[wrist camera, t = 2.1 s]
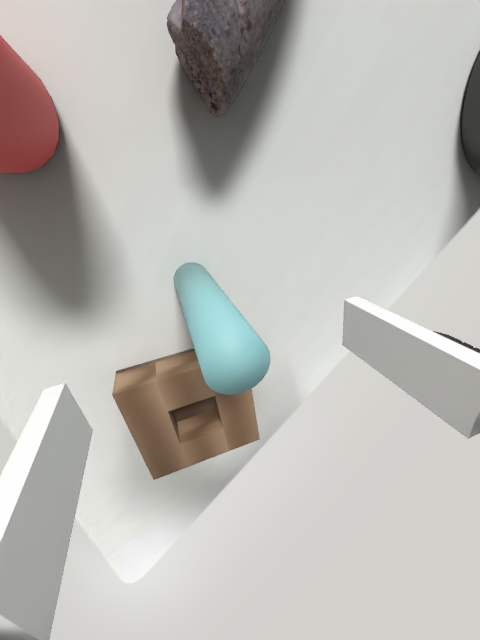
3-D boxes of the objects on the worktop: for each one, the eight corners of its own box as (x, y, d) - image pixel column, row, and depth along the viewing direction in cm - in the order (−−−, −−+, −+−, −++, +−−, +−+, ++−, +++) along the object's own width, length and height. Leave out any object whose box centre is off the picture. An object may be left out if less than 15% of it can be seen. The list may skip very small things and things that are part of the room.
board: (234, 336, 28) (245, 353, 25) (249, 417, 33) (259, 439, 30) (116, 371, 25) (112, 394, 22) (153, 452, 31) (154, 479, 28)
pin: (205, 259, 24) (266, 325, 12) (212, 292, 25) (273, 382, 13) (169, 267, 23) (195, 346, 11) (178, 300, 24) (210, 403, 12)
